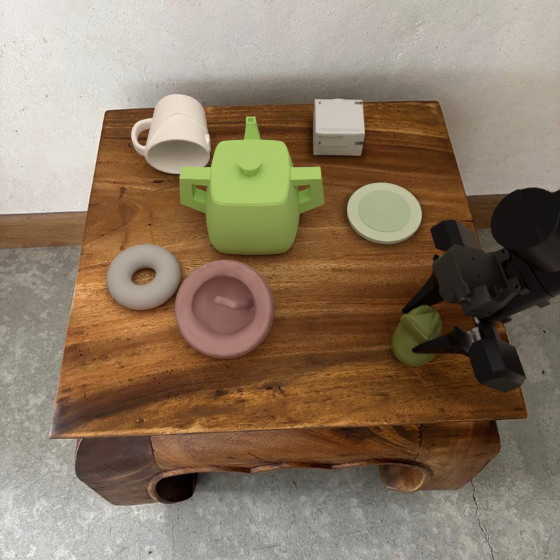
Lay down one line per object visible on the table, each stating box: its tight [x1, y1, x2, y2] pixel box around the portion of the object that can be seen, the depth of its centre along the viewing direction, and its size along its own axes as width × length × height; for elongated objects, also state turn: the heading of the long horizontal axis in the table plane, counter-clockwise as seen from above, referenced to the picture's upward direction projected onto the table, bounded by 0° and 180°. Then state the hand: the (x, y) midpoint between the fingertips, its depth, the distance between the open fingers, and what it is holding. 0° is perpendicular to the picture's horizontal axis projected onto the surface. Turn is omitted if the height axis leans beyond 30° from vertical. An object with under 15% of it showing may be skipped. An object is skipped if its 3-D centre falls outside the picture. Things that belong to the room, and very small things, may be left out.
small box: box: [312, 98, 366, 157], centre depth 87 cm, size 8×8×5 cm
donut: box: [105, 243, 182, 311], centre depth 74 cm, size 10×4×10 cm
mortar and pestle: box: [174, 259, 276, 360], centre depth 67 cm, size 12×12×12 cm
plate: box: [346, 182, 423, 245], centre depth 81 cm, size 11×11×1 cm
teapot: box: [178, 116, 325, 256], centre depth 76 cm, size 18×20×13 cm
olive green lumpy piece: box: [390, 305, 443, 368], centre depth 64 cm, size 6×5×10 cm
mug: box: [130, 93, 212, 175], centre depth 85 cm, size 12×9×8 cm
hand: (408, 331), depth 63 cm, fingers closed on olive green lumpy piece, 5 cm apart
